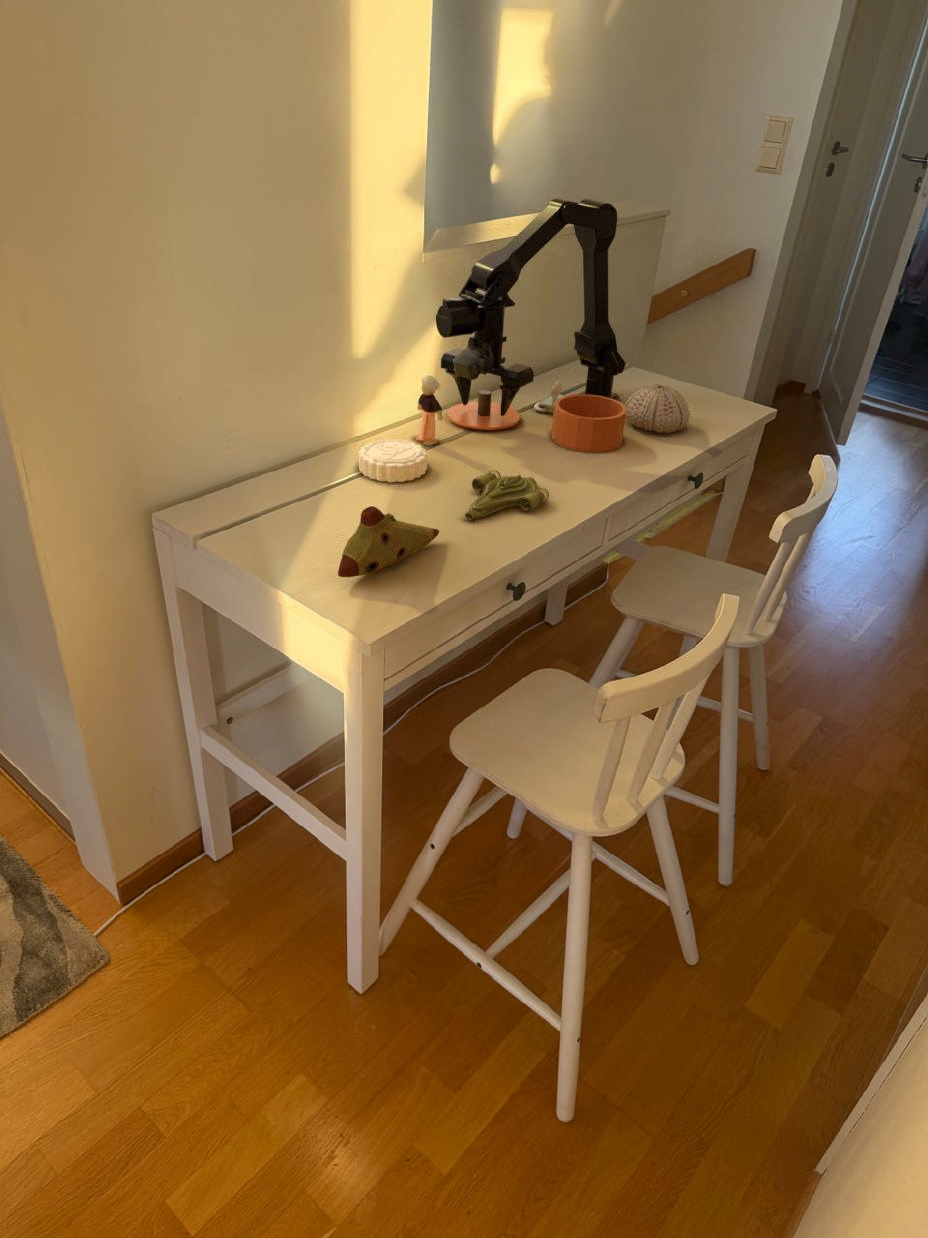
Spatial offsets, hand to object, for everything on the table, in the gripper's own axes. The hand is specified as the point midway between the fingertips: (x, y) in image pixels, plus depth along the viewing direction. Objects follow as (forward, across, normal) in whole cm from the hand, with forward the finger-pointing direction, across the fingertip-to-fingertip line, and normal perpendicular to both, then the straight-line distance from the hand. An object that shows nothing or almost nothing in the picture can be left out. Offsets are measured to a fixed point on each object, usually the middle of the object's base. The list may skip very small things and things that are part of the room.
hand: (483, 409), depth 179 cm
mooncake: (+2, +2, -31) cm, 31 cm away
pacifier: (+2, +7, +14) cm, 16 cm away
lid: (+1, 0, 0) cm, 1 cm away
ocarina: (+2, +23, -57) cm, 61 cm away
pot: (+2, +21, +5) cm, 22 cm away
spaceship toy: (+2, +24, -30) cm, 38 cm away
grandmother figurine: (+2, -1, -17) cm, 17 cm away
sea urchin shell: (+2, +28, +21) cm, 35 cm away
